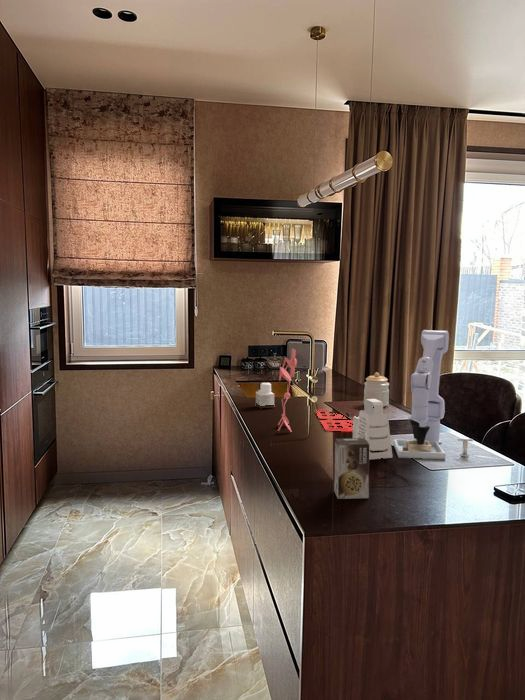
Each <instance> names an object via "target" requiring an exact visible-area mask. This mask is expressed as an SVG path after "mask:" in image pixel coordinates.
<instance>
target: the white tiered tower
mask: <svg viewBox="0 0 525 700" xmlns="http://www.w3.org/2000/svg"><path fill="white" fill-rule="evenodd" d="M363 405H364V406H363V407H364V410H363V409H362V410H359V413H358V414H359V418H358V424H357V430H356V436H355V438H365V439H366V440H367V442H368V443H369V461H370V460H381V458H383V459H391V458H393V451H392V450H393V449H392V439H391V432H390V431H391V430H390V424H389V414H388V413H387V412H385V411H384V408H383V403H382V401H379V400H377V399H366V400H365V404H364V403H363ZM373 407H374V408H373ZM360 420H361V421H362V423H361V422H360ZM363 421H364V422H365V423H363ZM359 431H360V432H359ZM361 431H362V432H363V433H362V432H361ZM365 431H366V432H365ZM375 451H376V452H375ZM377 451H379V452H377ZM382 451H383V452H382Z"/></svg>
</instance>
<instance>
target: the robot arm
mask: <svg viewBox="0 0 525 700" xmlns="http://www.w3.org/2000/svg"><path fill="white" fill-rule="evenodd" d="M449 342H450V334H449V331H448V330H429V329H428V330H427V329H423V330H422V331H421V335H420V343H421V346H422V349H423V353H422V357H419V359H418V361H417V364H416V366H415V367H416V368H415V370H414V372H413V373H412V374H411V376H410V388H411V389H410V392H411V394H412V395H411V415H409V416H407V418H408V420H409V422H410V424H411V428H412V435H413V440H417V444H418V445H423V444H424V441H437V442H438V443H439V444H442V443H443V442H442V440H441V439H440V431H441V430H440V428H441V420H442V419H444V416H445V412H446V411H445V409H446V407H445V405H446V402H445V399H444V398H443V397H442V396H440V395H439V388H440V379H441V368H442V367H441V366H442V360H443V355H444V354H445V353H447V352H448V350H449V344H450V343H449Z"/></svg>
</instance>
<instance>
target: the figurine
mask: <svg viewBox="0 0 525 700" xmlns="http://www.w3.org/2000/svg"><path fill="white" fill-rule="evenodd" d="M296 352H297V351H296V349H294V348H291V353H290V354H291V356H290V357H291V358H290V359H289V358H287V357H286V356H285V357H284V361H283V365H282V366H279V376H278V377H279V379H278V381H279V382H280V381H281V380H282V378H283V379H285V380H286V381H287V382H288V388H287V392H284V395H283V396H284V397H283V398H282V399H281V405H282V412H283V413H281V419H280V420H279V422H278V423H277V425H279V426H278V429H277V431H279V432H280V430H281V428H282V426H283V424H284V425H285V426H286V428H287V429H288V430H289V432H290V433H291V432H292V433H293V431H292V429H291V426H290V422H289V419H288V417H287V415H286V403H287V401H288V399H290V398H291V394H290V387H291V382H292V378H294V377H295V371H296V370H295V368H297V364H298V360H297V358H296ZM286 363H287V366H285V365H286ZM284 367H285V368H284ZM288 367H289V368H290V369H289V371H290V373H289V372H288V371H287V369H288ZM284 399H286V400H285V401H284ZM288 424H289V425H288Z"/></svg>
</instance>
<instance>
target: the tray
mask: <svg viewBox="0 0 525 700" xmlns="http://www.w3.org/2000/svg"><path fill="white" fill-rule="evenodd" d="M407 440H408V439H393V448H394V449H395V452H396V454H397V457H398V459H411V458H422V459H421V460H433V459H445V460H446V452H445V451H444V449H443V447H442V446H441V445H440V443H438V442H437V441H429V442H430V444H431V452H416V451H403V446H406V445H407ZM412 440H413V441H417V440H416V439H412Z"/></svg>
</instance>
